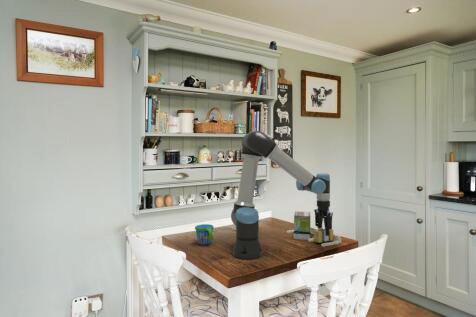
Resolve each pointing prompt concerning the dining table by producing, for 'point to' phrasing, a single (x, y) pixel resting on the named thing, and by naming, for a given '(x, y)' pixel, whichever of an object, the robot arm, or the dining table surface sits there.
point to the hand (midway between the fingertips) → (323, 239)
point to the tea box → (301, 225)
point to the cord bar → (322, 235)
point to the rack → (335, 241)
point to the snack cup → (204, 233)
